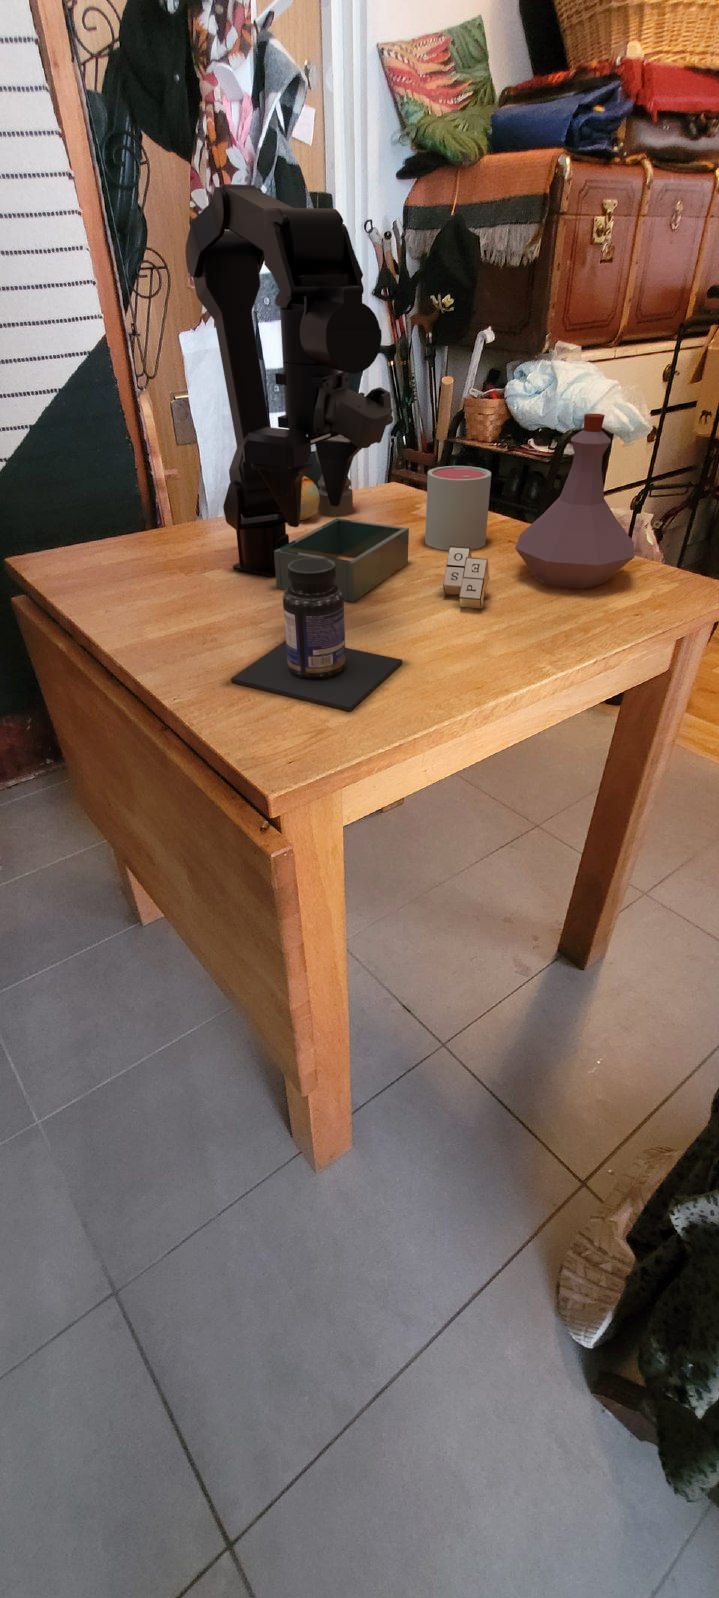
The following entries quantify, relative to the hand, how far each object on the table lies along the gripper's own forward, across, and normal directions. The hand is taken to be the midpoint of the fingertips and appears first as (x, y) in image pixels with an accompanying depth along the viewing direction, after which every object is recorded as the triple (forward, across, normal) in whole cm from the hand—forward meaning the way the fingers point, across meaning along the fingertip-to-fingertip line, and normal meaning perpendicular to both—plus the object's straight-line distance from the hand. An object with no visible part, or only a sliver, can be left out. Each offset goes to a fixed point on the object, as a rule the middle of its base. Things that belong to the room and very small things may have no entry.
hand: (315, 515), depth 88 cm
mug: (+12, +36, -3) cm, 38 cm away
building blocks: (+12, +12, -14) cm, 22 cm away
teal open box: (+12, +13, +4) cm, 18 cm away
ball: (+13, +34, +24) cm, 43 cm away
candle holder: (+13, +41, +21) cm, 48 cm away
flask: (+12, +26, -24) cm, 38 cm away
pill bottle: (+11, -15, -9) cm, 20 cm away
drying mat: (+11, -15, -9) cm, 21 cm away
